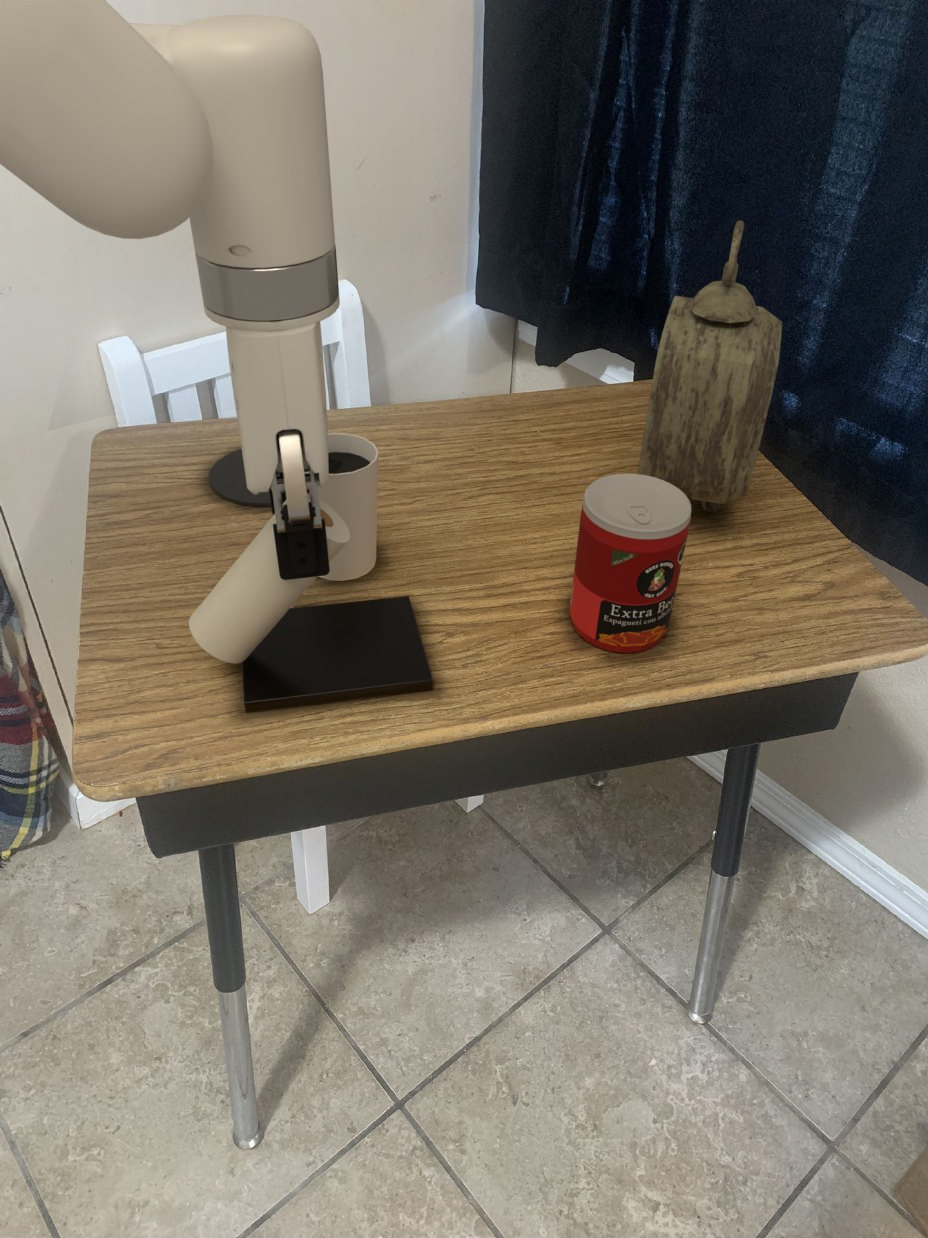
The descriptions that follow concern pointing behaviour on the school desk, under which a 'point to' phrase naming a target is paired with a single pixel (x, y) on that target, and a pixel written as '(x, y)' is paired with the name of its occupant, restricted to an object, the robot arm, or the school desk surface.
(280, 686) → the thin black tile
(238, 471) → the coaster
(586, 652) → the school desk surface
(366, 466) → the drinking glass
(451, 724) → the school desk surface
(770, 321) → the wooden cowbell
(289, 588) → the towel roll
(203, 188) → the robot arm
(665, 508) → the canned food
